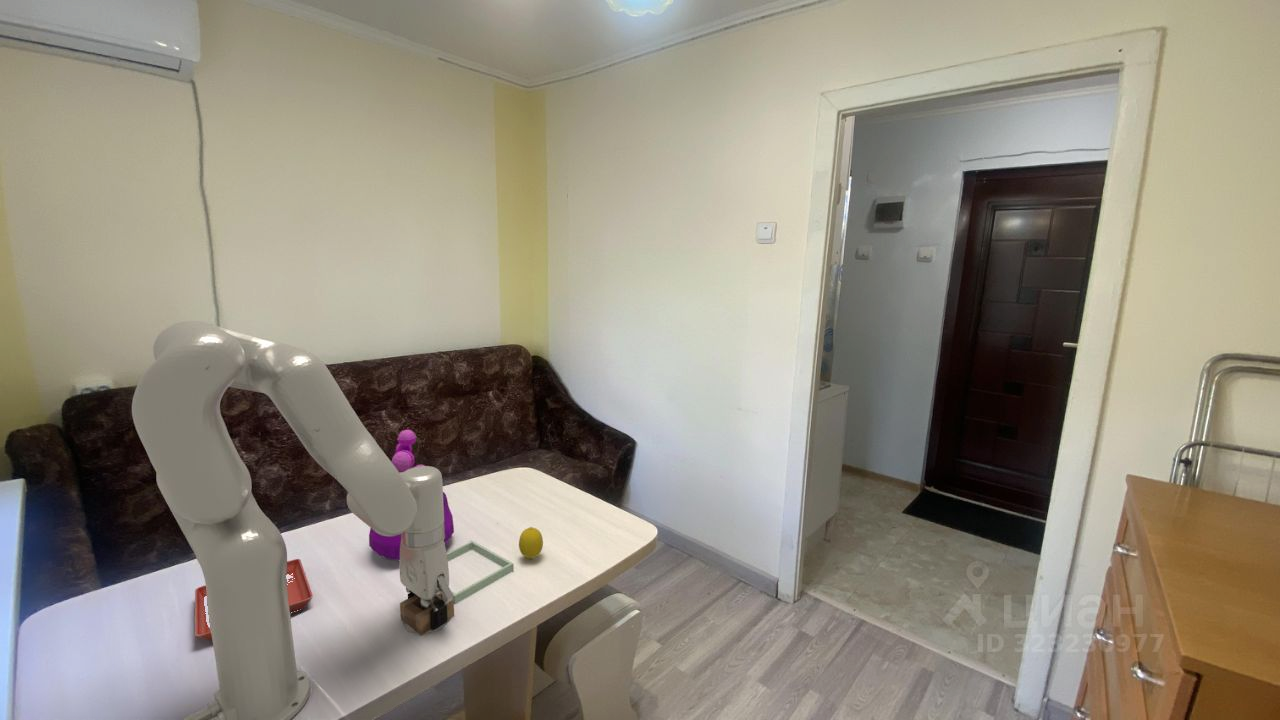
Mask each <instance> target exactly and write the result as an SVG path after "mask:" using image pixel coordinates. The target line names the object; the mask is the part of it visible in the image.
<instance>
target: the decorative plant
mask: <svg viewBox="0 0 1280 720" xmlns="http://www.w3.org/2000/svg"><path fill="white" fill-rule="evenodd" d="M416 439H417V436H416V433H415V432H414V431H413V430H411V429H404V430H401V431H400V432H399V433H398V437H397V442H398V444H397V445H396V448H395V453H394V455H393V456H392V459H391V462H392V463H393V465H394V466H395V468H396V469H397V470H398V472H399V473H401V472H404V471H406V470H408V469H411V468H414V467H420V466H425V464H417V465H416V466H414V464H415V456H414V454H413V453H412V451H413V447H412V445H414V443H415V442H416ZM443 506H444V528H445V539H444V540H443V541H444V543H445V545H446V544H447V543H448V541H449V540H450V539H451V538H452V536H453V534H454V533H455V528H454V527H455V526H454V525H455V524H454V519H453V514H452V512H451V509H450V506H449V502H448V498H447V494H446V493H445V492H444V491H443ZM401 539H402V536H401V534H399V535H396V536H383V535H380V534H378V533H376V532H375V531H374V530H373V529H372V528H370V529H369V533H368V545H369V547H370V549H371V550H372V552H374V553H375V554H376V555H378V556H380V557H382V558H384V559H386V560H393V561H400V545H401Z"/></svg>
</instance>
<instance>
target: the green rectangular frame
mask: <svg viewBox="0 0 1280 720" xmlns="http://www.w3.org/2000/svg"><path fill="white" fill-rule="evenodd" d="M472 550H473V551H474V552H476V553H478V554H479V555H481V556H483V557H485V558H487V559H488V560H490V561H492V562H494V563H496V564H498V565H499V566H500V568H498V569H497V570H496V571H494V572H491V573H490V574H488V575H487V576H484V577H483V578H481V579H480V580H478V581H476V582H474V583H473V584H470V585H469V586H467V587H465V588H463V589H461V590H460V591H457V592H456V593H455V592H454V591H452V590H451V592H452V594H453V598H452V599H453V600H454V605H456V604H457V603H460V602H462V601H463V600H464V599H467V598H468V597H470V596H472V595H473V594H475V593H477V592H478V591H480V590H482V589H483V588H486V587H487V586H489V585H491V584H493V583H494V582H496V581H498V580H500V579H502V578H503V577H504V576H507V575H508V574H510V573H514V568H515V567H514V563H513V562H512V561H510V560H508V559H506V558H504V557H503V556H501V555H500V554H497V553H495V552H494V551H492V550H490V549H488V548H487V547H484V546H483V545H481V544H479V543H478V542H475V541H473V540H471V541H469V542H467V543H465V544H463V545H461V546H459V547H456V548H455V549H453V550H450V551H449V552H448V551H447V552H446V553H447V560H448V562H450V561H451V560H455V558H457V557H460V556H462V555H464V554H466V553H468V552H469V551H472ZM437 589H439V588H438V587H437Z"/></svg>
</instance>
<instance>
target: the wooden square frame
mask: <svg viewBox="0 0 1280 720" xmlns="http://www.w3.org/2000/svg"><path fill="white" fill-rule="evenodd" d="M438 590H439V589H436V591H438ZM435 600H436V603H437V602H438V601H440V600H441V596H440V594H439V595H437V596H435ZM399 609H400V611H399V612H400V620H402V622H403V621H404V622H405V623H406V624H408V625H409V626H410V627H411V628H413V629H414V630H415V631H416V632H418V633H419V634H418V635H420V636H422V635H424V634H427V633H426V632H427V631H429V630H431V621H430V610H432V607H429V608H427V609H426V610H424V611H423V610H421V598H420V597H419V596H417V595H415V596H413V597H411V598H408V597H407V598H406V599H405V600H403V601H400V602H399ZM451 617H452V618H453V617H455V604H454V600H453V599H452V600H451V601H450V603H449V604H448V605H447V618H448V619H449V618H451ZM452 618H451V619H452Z"/></svg>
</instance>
